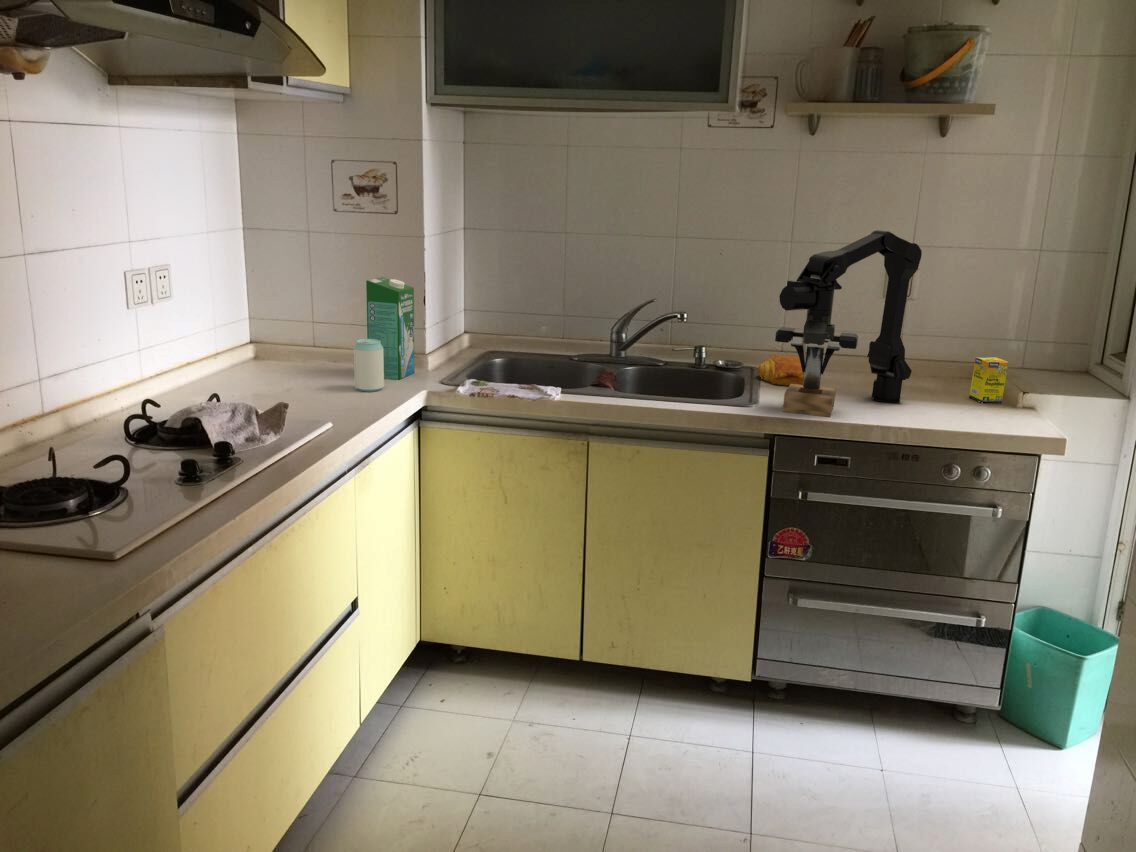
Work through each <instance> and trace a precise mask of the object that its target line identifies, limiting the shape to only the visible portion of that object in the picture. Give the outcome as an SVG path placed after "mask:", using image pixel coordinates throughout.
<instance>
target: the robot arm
mask: <svg viewBox="0 0 1136 852" xmlns="http://www.w3.org/2000/svg"><path fill="white" fill-rule="evenodd" d="M877 253H878V254H880V255H881V256H882V257H884V258H883V260H884V261H883V266H884V269H885V272H886V275H887V276H888V277H887V278H888V279H887V286H886V291H885V300H884V305H883V313H882V318H881V324H880V325H881V326H880V332H879V335H878V336H877V338H876V339H875V340H874V341H872V340H871V341H870V342H869V345H868V347H869V348H868V353H867V354H866V357H868V363H869V366H870V372H871V374H875V375H876V378H875V379H874V380H873V383H872V385H873V386H872V393H871V397H872V398H873V399H872V400H873V401H877V402H884V403H885V402H886V403H887V402H888V403H895V404H901V400H902V398H901V394H902V386H903V382H904V381H906V380H908V379H910V378H911V374H912V372H913V370H912V369H911V367H910V365H908V363H907V362H906V360H905V358H906V348H905V345H904V343H903V339H902V337H901V336H902V329H903V325H904V319H905V318H904V317H905V310H906V305H907V298H908V291H909V285H910V281H911V278H912V277H913V276H914V275H915V273H916V272H917V271H918V269H919V266H920V262H921V259H922V257H923V256H922V253H923V252H922V249H921V248H920V246H919V244H917V243H915V242H910V241H908V240H905V239H903V238H901V237H899V236H897V235H895V234H894V233H892V232H891V231H889V230H887V231H886V230H879V229H878V230H877V229H876V230H873V231H872V232H871V233H870V234H867V235H866V236H863V237H862V238H860V239H857V240H856V241H854V242H852V243H849V244H847V245H845V246H842V247H841V248H838V249H836V250H835V249H834V250H828V251H822V252H818V253H814V254H813V255H811V256H810V257H809V259H808V262H807V264H806V265H805V267H804V269H802V271H801V273H800V274H799V275H798V277H797V278H796V280H787V282H786V286H784V287H783V288H782V290H781V292H780V293H779V304H780V306H781V308H782V309H783V310H784V311H803V310H804V311H805V310H806V318H805V323H804V325H803V331H802V332H801V331H796V327H787V326H786V327H785V326H781V327H779V328H777V330H776V331H775V339H774V341H775V342H776V343H785V344H786V343H789V342H791V343H790V347H793V348H794V349H795V350H796V353H797V355H798V357H799V359H800V363H801V367H802V372H804V371H805V362H806V352H807V345H819V346H824V345H825V343H827V346H826V348H825V349H826V350H825V352H824V356H823V364H822V370H821V375H823V374H824V373H825V370H826V368H827V366H828V364H829V362H830V360H831V357H832V355H833V354H834V352H839V351H840V350H841V348H842V349H851V350H856V349H857V346H858V342H859V335H858V334H857V333H853V332H852V333H851V332H841V333H840V334H839V335H835V331H836V330H835V329H836V324H831V323H832V316H833V313H832V312H833V305H834V297H835V296H834V295H835V290H837V291H838V290H842V285H840V283H839V282H838V279H840V277H842V276H843V275H844V274H846V272H847V271H848V269H849V267H851V266H852V265H855V264H857V263H859V262H861V261H862V260H865V259H866V258H869V257H870V256H873V255H875V254H877Z"/></svg>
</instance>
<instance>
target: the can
mask: <svg viewBox="0 0 1136 852" xmlns="http://www.w3.org/2000/svg"><path fill="white" fill-rule="evenodd" d="M355 342H356V344H355V345H354V347H353V367H354V373H353V374H354V375H353V376H354V388H356V389H357V390H358V391H361V392H370V393H371V392H378V391H380V390H381V389H383V388H384V386H385V378H384V356H383V346H382V345H381V343H380V342H381V341H380V340H376V339H367V338H361V339H358V340H356V341H355Z"/></svg>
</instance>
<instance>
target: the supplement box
mask: <svg viewBox="0 0 1136 852" xmlns="http://www.w3.org/2000/svg"><path fill="white" fill-rule="evenodd" d="M1009 363H1010V362H1009V361H1007V360H1004V359H1002V358H1000V357H999V358H998V357H986V356H985V357H979V356H976V357H975V360H974V365H973V370H972V377H971V383H970V389H969V395H968V398H969V397H971V398H973V399H972V400H974V399H975V400H974V401H976V400H977V401H976V402H978V401H980V402H998V403H997V404H1001V403H1000V402H1003V396H1004V391H1005V386H1006V379H1007V374H1008V367H1009ZM971 398H970V399H971ZM980 402H979V403H980Z"/></svg>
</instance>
